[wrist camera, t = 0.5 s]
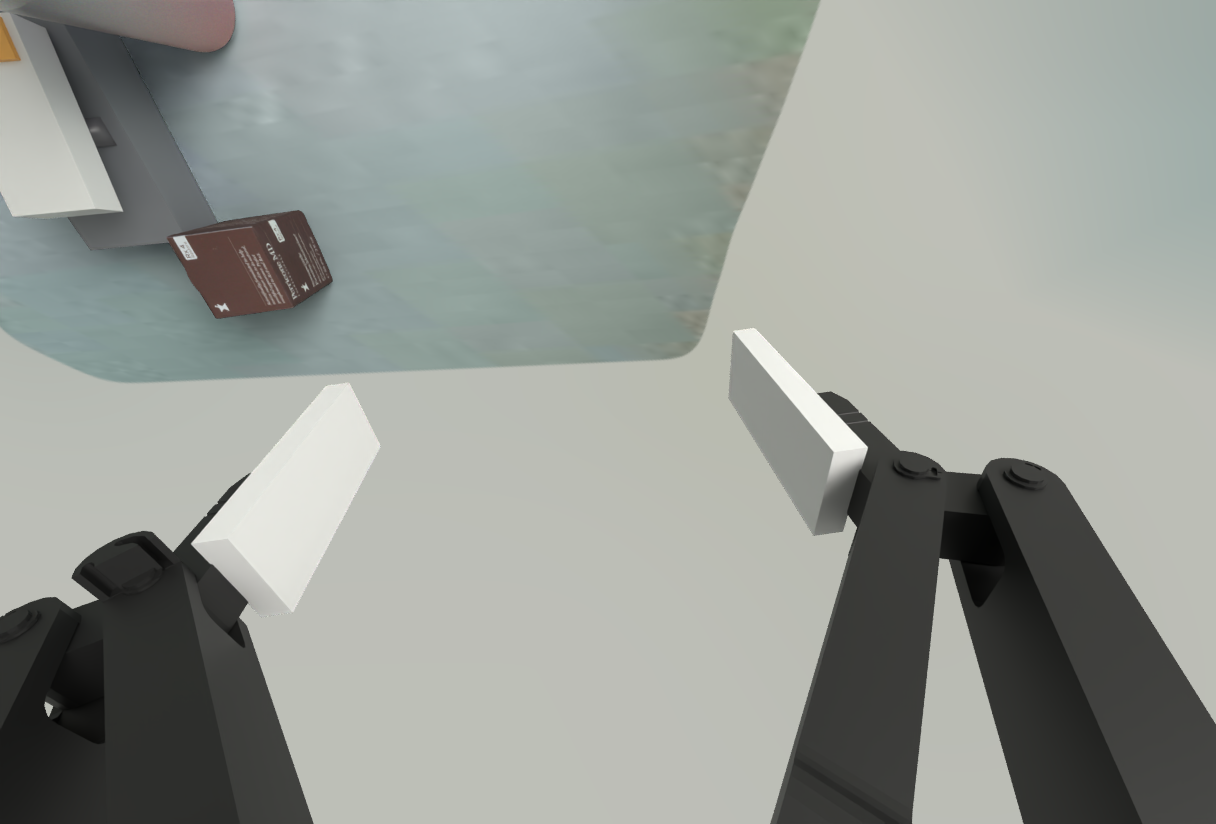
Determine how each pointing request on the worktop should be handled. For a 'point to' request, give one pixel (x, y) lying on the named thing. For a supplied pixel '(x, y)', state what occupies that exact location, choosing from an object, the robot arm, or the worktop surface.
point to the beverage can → (141, 19)
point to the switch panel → (127, 144)
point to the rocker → (44, 132)
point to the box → (253, 263)
